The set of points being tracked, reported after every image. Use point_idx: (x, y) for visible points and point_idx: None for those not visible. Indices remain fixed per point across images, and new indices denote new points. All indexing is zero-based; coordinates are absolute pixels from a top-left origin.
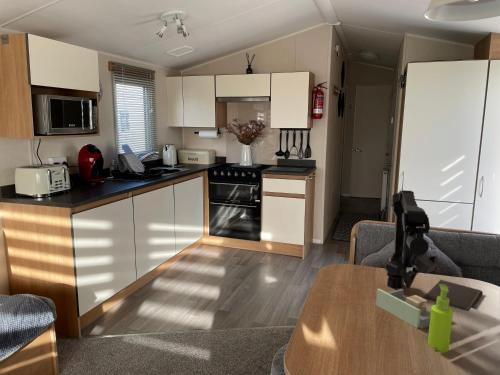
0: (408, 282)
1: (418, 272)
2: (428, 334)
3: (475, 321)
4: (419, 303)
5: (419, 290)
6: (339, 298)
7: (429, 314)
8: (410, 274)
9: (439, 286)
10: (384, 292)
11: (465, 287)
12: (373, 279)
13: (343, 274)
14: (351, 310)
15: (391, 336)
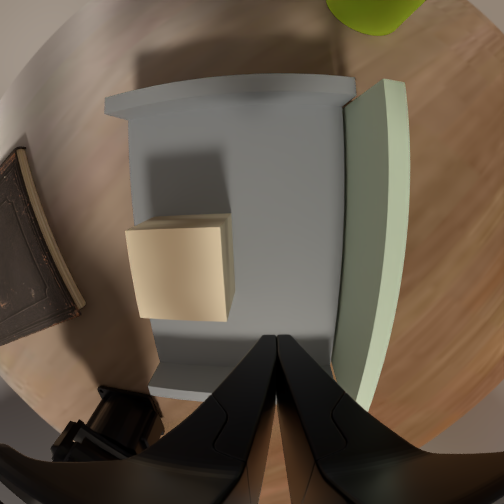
0: (324, 375)
1: (130, 488)
2: (412, 11)
3: (40, 100)
4: (200, 226)
5: (61, 359)
6: None
7: (169, 178)
8: (487, 454)
9: (4, 329)
10: (371, 388)
11: None
12: None
13: None
14: (427, 364)
15: (464, 154)
